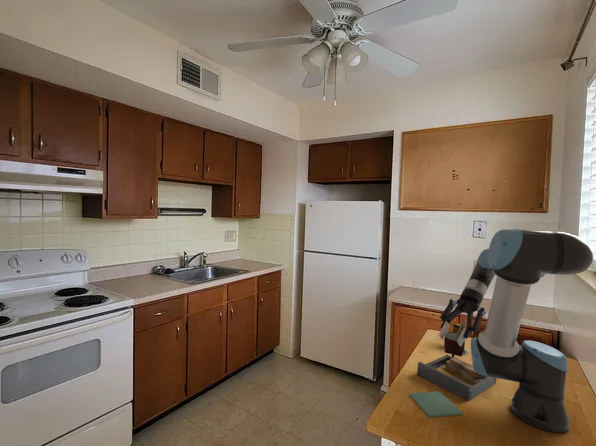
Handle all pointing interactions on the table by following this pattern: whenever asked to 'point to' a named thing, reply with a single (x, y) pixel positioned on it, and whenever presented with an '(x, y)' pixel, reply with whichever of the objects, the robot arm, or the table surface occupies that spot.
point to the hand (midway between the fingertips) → (449, 340)
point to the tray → (452, 379)
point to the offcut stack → (463, 370)
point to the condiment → (456, 329)
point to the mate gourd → (454, 343)
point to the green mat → (435, 404)
